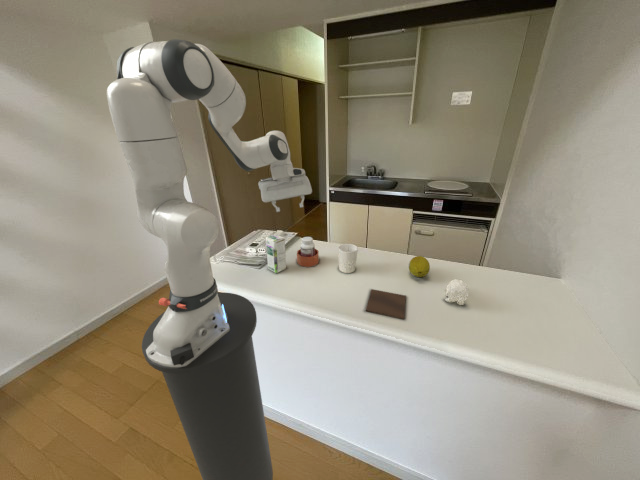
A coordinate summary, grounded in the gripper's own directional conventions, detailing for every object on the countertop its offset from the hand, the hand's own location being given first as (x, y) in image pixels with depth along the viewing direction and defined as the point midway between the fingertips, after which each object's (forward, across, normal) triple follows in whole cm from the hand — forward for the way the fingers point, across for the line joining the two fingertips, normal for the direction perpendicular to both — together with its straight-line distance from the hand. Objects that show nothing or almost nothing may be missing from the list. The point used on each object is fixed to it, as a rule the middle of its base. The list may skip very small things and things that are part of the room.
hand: (290, 209), depth 102 cm
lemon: (+36, +45, -3) cm, 58 cm away
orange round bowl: (+24, +2, +9) cm, 25 cm away
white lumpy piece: (+42, +52, -17) cm, 68 cm away
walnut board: (+38, +27, -20) cm, 51 cm away
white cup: (+29, +18, +2) cm, 34 cm away
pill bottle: (+24, +2, +9) cm, 26 cm away
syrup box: (+23, -11, +4) cm, 26 cm away
